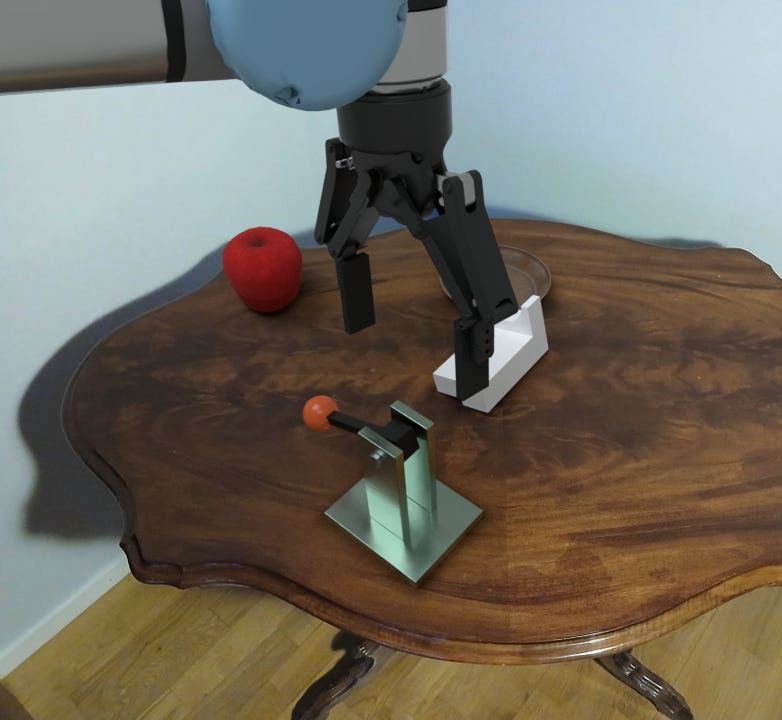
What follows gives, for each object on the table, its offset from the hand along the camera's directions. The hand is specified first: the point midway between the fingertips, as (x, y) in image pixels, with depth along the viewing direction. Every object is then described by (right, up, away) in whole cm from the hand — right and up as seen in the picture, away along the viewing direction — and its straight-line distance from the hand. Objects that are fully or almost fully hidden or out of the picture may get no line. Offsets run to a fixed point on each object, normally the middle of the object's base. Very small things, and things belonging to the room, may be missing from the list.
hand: (412, 358), depth 58 cm
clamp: (-2, -16, +14) cm, 21 cm away
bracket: (+6, -1, +30) cm, 30 cm away
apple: (-22, +7, +38) cm, 44 cm away
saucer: (+7, +9, +40) cm, 42 cm away
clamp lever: (-6, -8, +10) cm, 14 cm away
